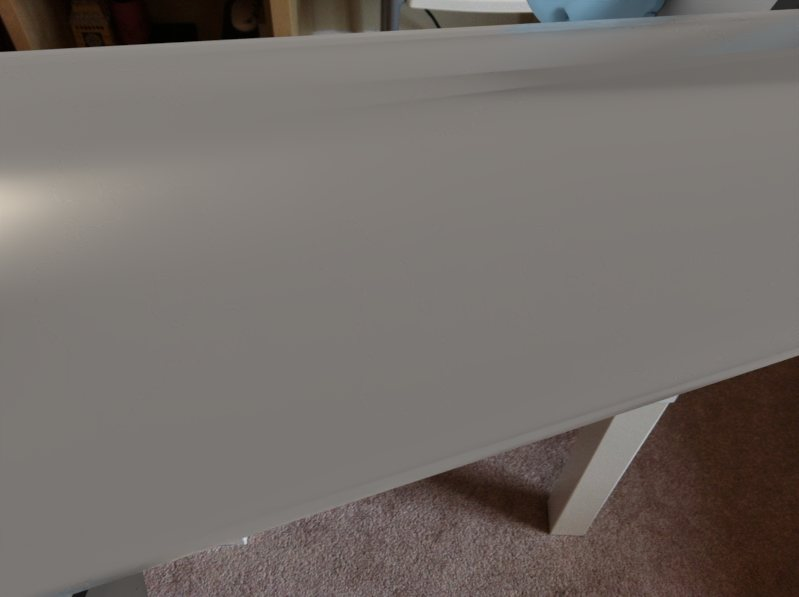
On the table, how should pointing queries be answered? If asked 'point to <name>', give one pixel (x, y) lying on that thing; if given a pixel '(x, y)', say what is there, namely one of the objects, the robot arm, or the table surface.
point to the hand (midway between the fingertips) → (484, 238)
